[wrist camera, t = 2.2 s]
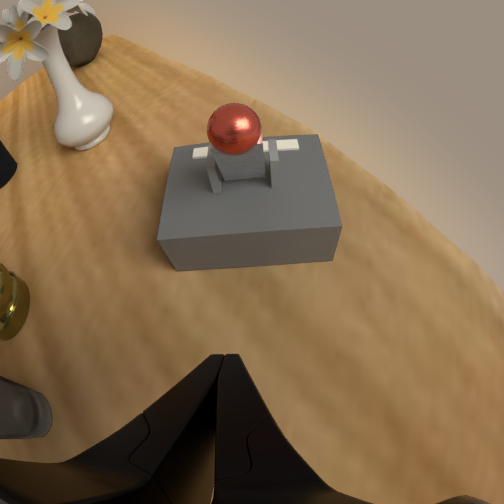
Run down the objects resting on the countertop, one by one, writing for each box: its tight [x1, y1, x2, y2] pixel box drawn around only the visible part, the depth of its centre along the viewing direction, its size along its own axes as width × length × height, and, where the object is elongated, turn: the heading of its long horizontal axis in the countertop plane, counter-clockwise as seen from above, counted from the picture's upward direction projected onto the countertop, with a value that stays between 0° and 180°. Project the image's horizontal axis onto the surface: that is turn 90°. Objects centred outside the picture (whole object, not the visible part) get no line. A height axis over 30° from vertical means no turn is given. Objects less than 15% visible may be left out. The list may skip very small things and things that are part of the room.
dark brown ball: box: [57, 13, 102, 67], centre depth 52 cm, size 14×14×15 cm
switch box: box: [157, 134, 342, 271], centre depth 24 cm, size 10×13×8 cm
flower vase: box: [0, 0, 114, 151], centre depth 27 cm, size 13×18×25 cm
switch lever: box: [207, 103, 265, 181], centre depth 18 cm, size 3×3×8 cm
